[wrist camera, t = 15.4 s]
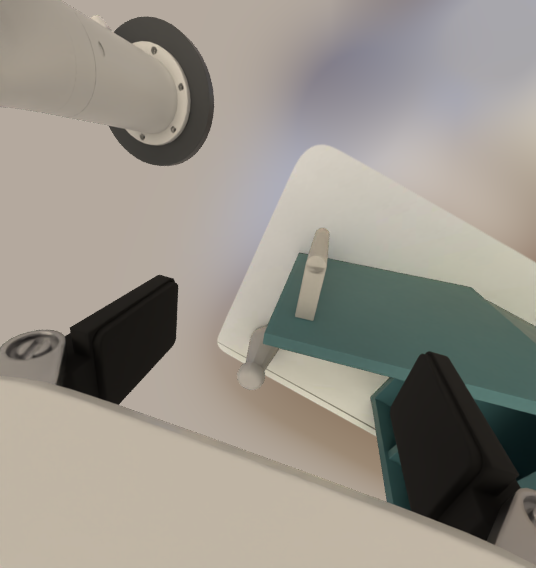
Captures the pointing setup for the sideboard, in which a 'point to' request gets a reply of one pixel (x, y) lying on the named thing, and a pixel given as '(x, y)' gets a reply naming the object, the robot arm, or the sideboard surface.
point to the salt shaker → (256, 361)
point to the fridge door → (401, 326)
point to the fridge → (503, 421)
